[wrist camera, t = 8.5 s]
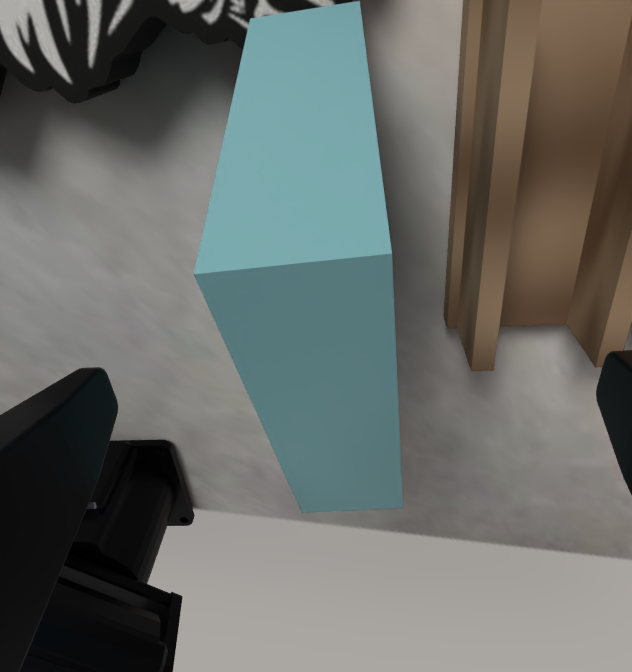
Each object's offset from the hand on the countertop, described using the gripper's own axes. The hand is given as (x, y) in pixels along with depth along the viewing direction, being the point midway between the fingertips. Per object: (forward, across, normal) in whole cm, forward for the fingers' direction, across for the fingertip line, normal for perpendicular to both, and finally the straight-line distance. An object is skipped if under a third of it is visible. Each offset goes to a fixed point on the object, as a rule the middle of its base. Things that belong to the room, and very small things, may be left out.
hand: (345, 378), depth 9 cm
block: (+11, +1, -1) cm, 11 cm away
